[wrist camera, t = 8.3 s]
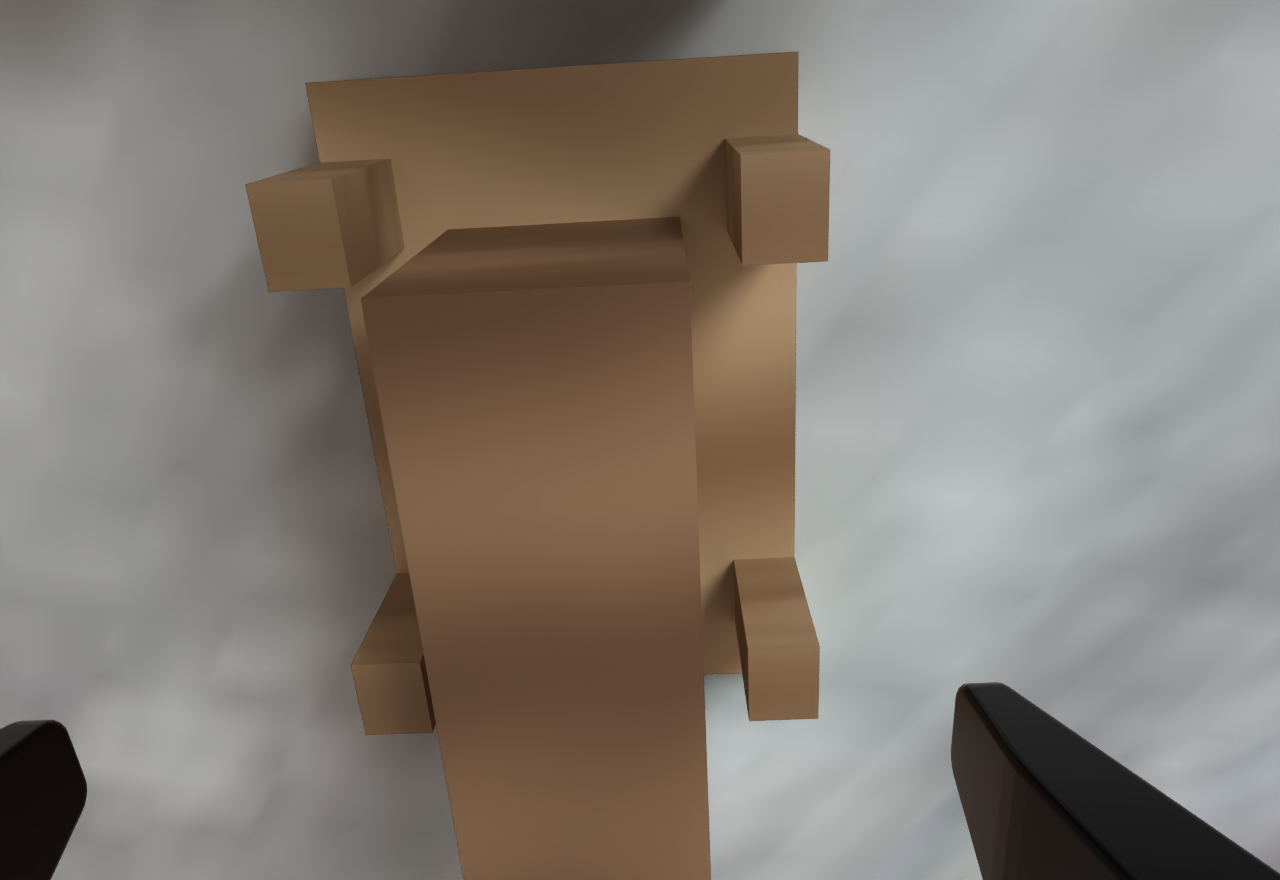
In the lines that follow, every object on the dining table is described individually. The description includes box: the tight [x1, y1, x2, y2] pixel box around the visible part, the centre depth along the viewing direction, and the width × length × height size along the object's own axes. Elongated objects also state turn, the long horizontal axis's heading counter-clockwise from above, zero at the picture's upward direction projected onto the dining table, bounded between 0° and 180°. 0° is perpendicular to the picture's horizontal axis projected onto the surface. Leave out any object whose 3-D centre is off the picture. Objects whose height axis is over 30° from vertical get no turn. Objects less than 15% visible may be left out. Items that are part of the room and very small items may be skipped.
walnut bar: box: [361, 217, 711, 880], centre depth 16 cm, size 12×4×5 cm, turn 3°
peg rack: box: [245, 52, 830, 735], centre depth 16 cm, size 12×8×4 cm, turn 3°
